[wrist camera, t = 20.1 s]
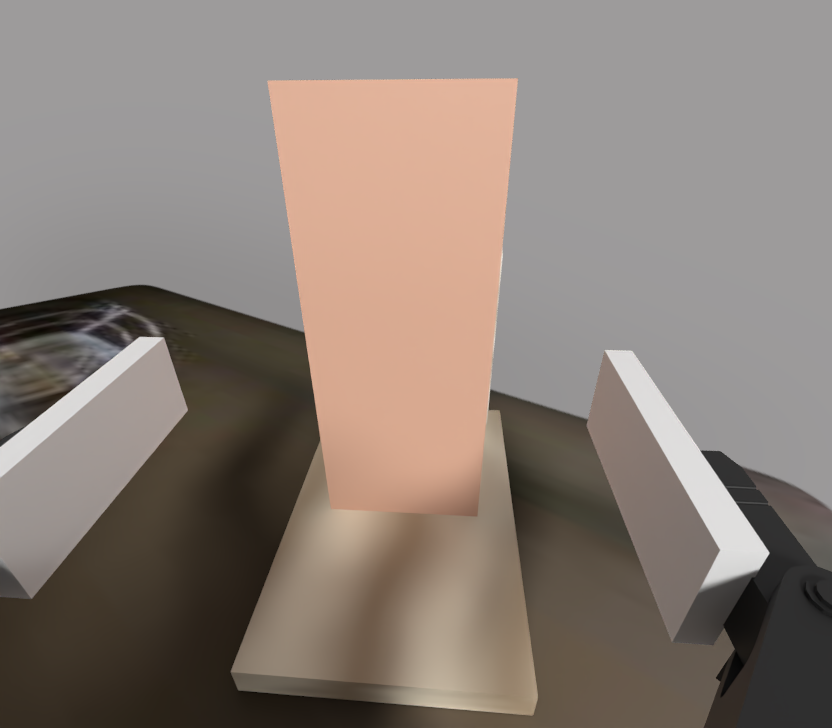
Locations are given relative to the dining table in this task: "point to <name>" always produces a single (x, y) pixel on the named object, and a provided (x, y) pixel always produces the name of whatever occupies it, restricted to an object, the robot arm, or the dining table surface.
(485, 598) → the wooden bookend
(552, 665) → the dining table surface
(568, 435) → the dining table surface
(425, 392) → the salmon pink rectangular block
